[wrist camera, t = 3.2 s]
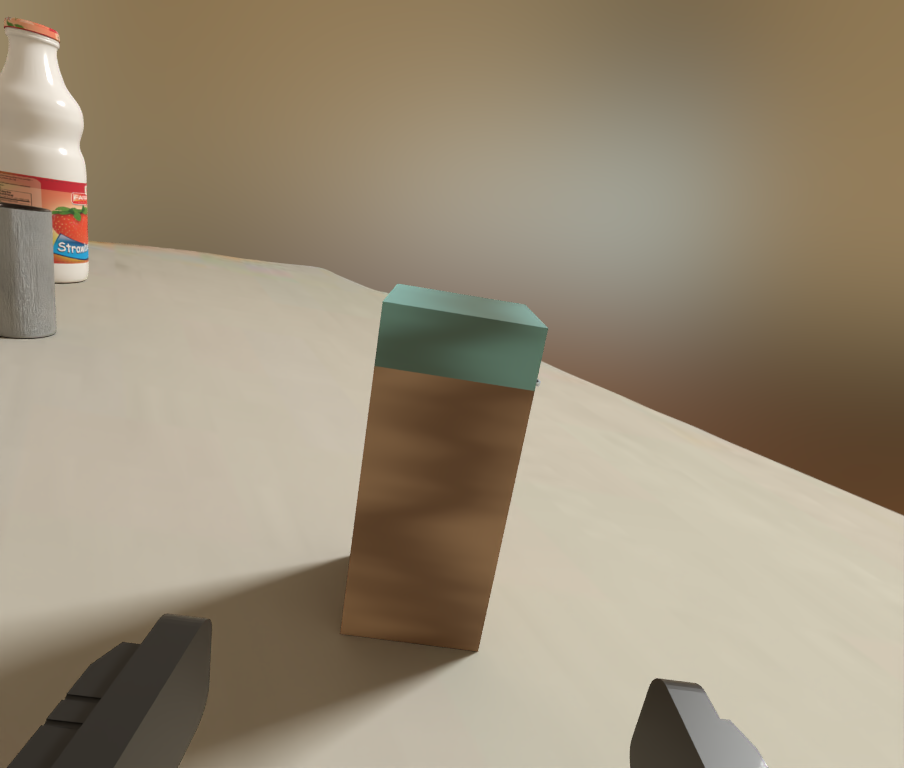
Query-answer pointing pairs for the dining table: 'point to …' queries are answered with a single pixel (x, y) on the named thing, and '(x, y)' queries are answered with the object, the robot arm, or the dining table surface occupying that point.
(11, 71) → the white strawberry milk bottle
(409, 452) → the brown tall block
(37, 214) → the planter
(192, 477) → the dining table surface
